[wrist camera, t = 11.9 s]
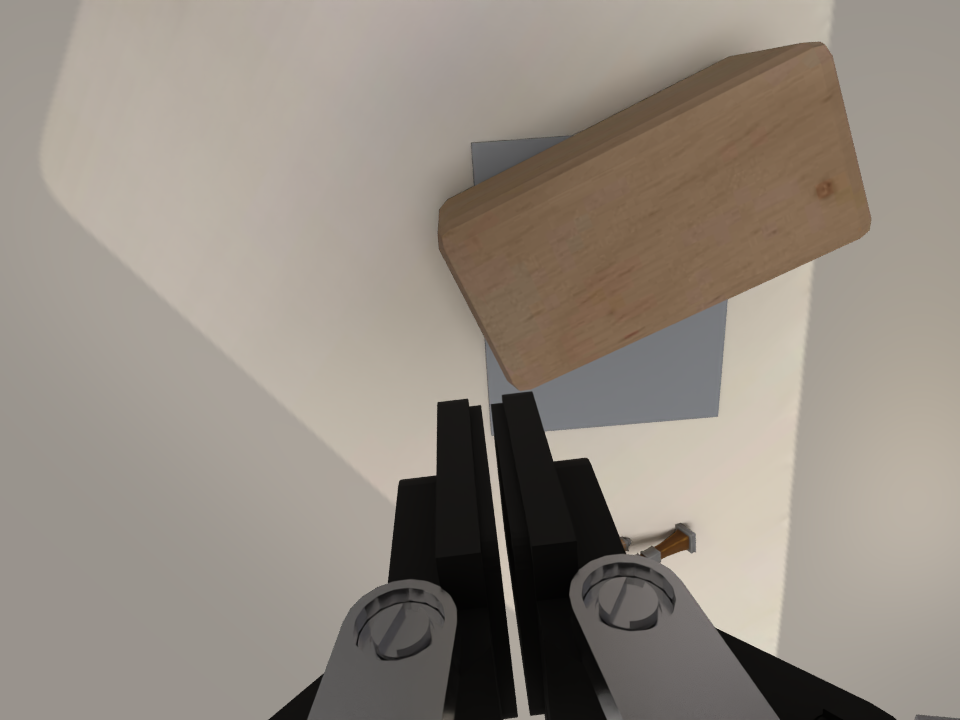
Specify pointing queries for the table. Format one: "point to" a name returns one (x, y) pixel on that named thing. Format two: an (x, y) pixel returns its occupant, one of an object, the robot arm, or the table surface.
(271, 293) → the table surface
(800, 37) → the table surface
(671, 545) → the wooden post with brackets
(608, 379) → the mat
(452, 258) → the wooden block
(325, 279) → the table surface
